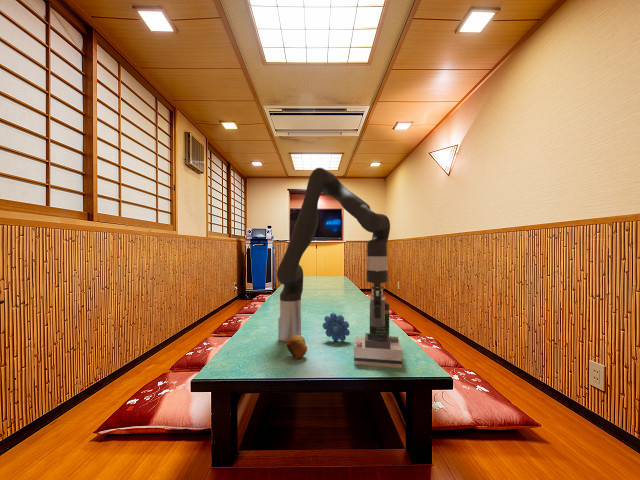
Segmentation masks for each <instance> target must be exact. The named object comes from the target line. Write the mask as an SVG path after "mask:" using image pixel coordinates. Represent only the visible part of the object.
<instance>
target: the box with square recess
mask: <svg viewBox="0 0 640 480" xmlns="http://www.w3.org/2000/svg"><path fill="white" fill-rule="evenodd" d="M354 339H355V340H354V343H353V344H354V345H353V365H355V366H366V367H368V366H370V367H380V368H381V367H382V368H392V369H393V368H395V369H403V349H402V345H401V342H400V339H399V336H392V335H391V336H390V334H389V335H388V334H371V333H370V332H369V333H367V332H365V337H364V336H363V337H362V336H355V338H354Z"/></svg>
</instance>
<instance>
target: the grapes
mask: <svg viewBox="0 0 640 480" xmlns="http://www.w3.org/2000/svg"><path fill="white" fill-rule="evenodd" d="M323 318H324V322H323V323H322V328H323V330H325V335H326V337H328V338H330V337H331V339H332V341H334V342H338V341H339V340H340V341H341V342H344V341H346V338H347V337H348V336H350V335H351V334H350V333H351V332H350V329H349V328H350V323H349V322H348V321H347V320H345V318H344V316H343V315H341V314H338V315H337V314H336V313H335V312H331V313H330V314H329V315H326V316H324V317H323Z"/></svg>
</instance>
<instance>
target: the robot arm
mask: <svg viewBox="0 0 640 480" xmlns="http://www.w3.org/2000/svg"><path fill="white" fill-rule="evenodd" d="M306 185H307V186H306V190H305V193H304V197H303V202H302V203H301V204H302V205H301V207H300V211H299V213H298V215H297V216H298V217H297V219H296V221H295V224H294V226H293V227H294V228H293V229H292V233H291V236H290V240H289V241H288V246H287V248H286V251H285V253H284V255H283V257H282V260H281V261H280V264H279V265H278V268H277V271H276V277H277V280H278V282H279V283H280V284H281V285H283V287H282V290H281V292H280V294H279V317H278V321H277V323H278V327H277V328H278V329H277V331H278V335H277V339H278V341H281V342H284V343H286V342H287V341H288V340H289V339H290V338H291V337H292V336H294V335H300V336H302V294H303V290H304V270H303V267H302V265H300V262H301V259H302V257H303V255H304V253H305V251H306V250H307V249H308V247H309V246H310V244H311V243H312V242H313V239H314V238H315V236H316V231H317V229H318V226H319V212H318V208H319V207H318V205H319V200H320V196H321V193H322V194H326V195H328V196H330V197H332V198H333V199H335V200H336V201H338V202H339V204H340V205H341V207H342V208H343V209H344V210H345V211H346V212H347V213H349V215H351V216H352V217H353V218H355V219H356V221H357V222H358V224H359V225H360V226H361V227H362V229H364V230H365V231H366V232H369V233H370V234H371V233H372V237H371V239H370V240H368V242H367V245H366V267H365V268H366V282H367V283H371V284H373V286H371V294H372V300H373V301H374V317H375V318H381V306H382V304H381V301H382V294H384V293H383V292H384V287H383V286H381V284H386V283H388V281H389V280H388V279H389V278H388V277H389V273H388V272H389V270H388V269H389V267H388V247H387V246H388V241H389V236H390V231H391V221H390V219H389V217H388V216H387V215H386V214H383V213H377V212H374V211H373V210H371V206H370V205H369V204H368V203H367V202H365V201H364V200H363V199H362V198H361V197H359V196H358V195H356V194H355V193H354V192H352V191H350V189H348V188H347V187H345V186H344V184H343V183H342V182H341V181H340V180H339V179H338V178H337V176H336V175H335V174H334V173H333V172H331V171H329V170H327V169H325V168H323V167H316V168H315V169H314V170H312V172H311V173H310V175H309V178H308V181H307V184H306ZM375 301H380V303H375Z"/></svg>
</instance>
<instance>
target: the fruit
mask: <svg viewBox="0 0 640 480" xmlns="http://www.w3.org/2000/svg"><path fill="white" fill-rule="evenodd" d="M285 345H286V348H287V349H288V351H289V353H290V355H291V356H293V358H294V359H297V360H298V359H300V358H303V357H304V356H305V355H306V354H307V352H308V345H307V344H306V339H305V338H304V336H302V335H301V336H300V335H294V336H292V337H291V338H290V339H289V340H288V341H287V342H285Z"/></svg>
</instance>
